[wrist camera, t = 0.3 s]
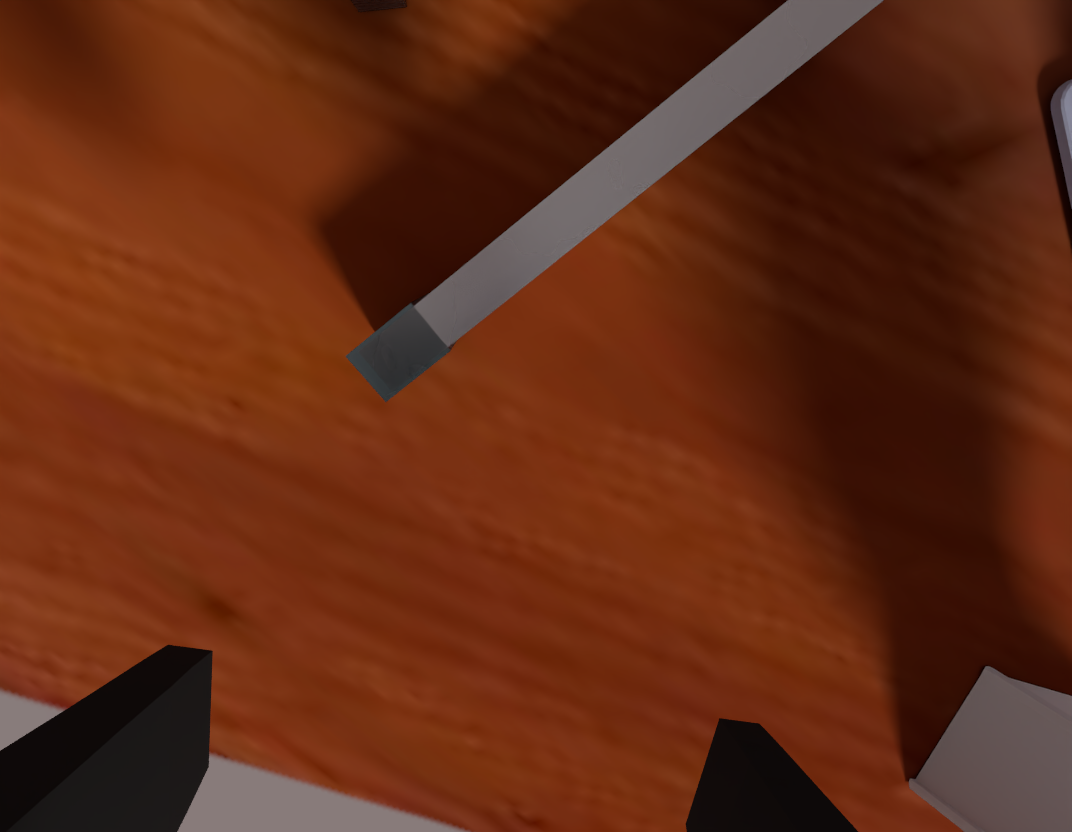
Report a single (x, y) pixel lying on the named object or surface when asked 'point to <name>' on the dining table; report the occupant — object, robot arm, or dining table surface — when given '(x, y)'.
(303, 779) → the dining table surface
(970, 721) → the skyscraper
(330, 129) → the dining table surface
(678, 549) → the dining table surface
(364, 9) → the base
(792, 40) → the tong arm
